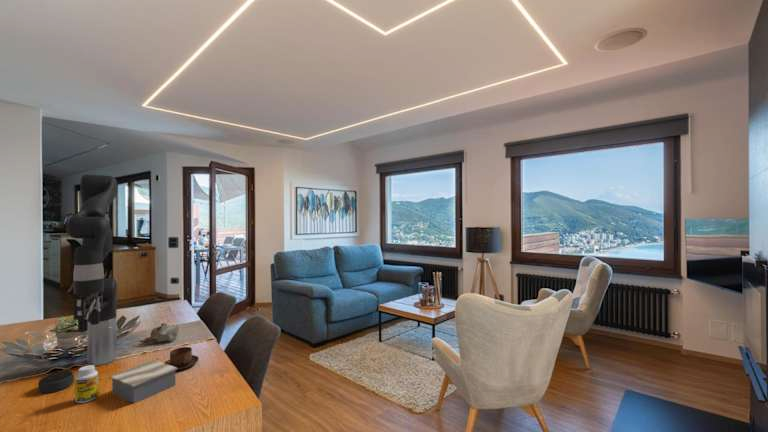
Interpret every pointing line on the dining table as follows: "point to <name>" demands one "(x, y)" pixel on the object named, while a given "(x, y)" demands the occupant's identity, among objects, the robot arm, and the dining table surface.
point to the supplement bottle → (86, 384)
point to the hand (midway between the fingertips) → (89, 327)
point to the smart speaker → (56, 382)
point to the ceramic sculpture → (162, 334)
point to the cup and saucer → (182, 358)
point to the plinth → (143, 381)
